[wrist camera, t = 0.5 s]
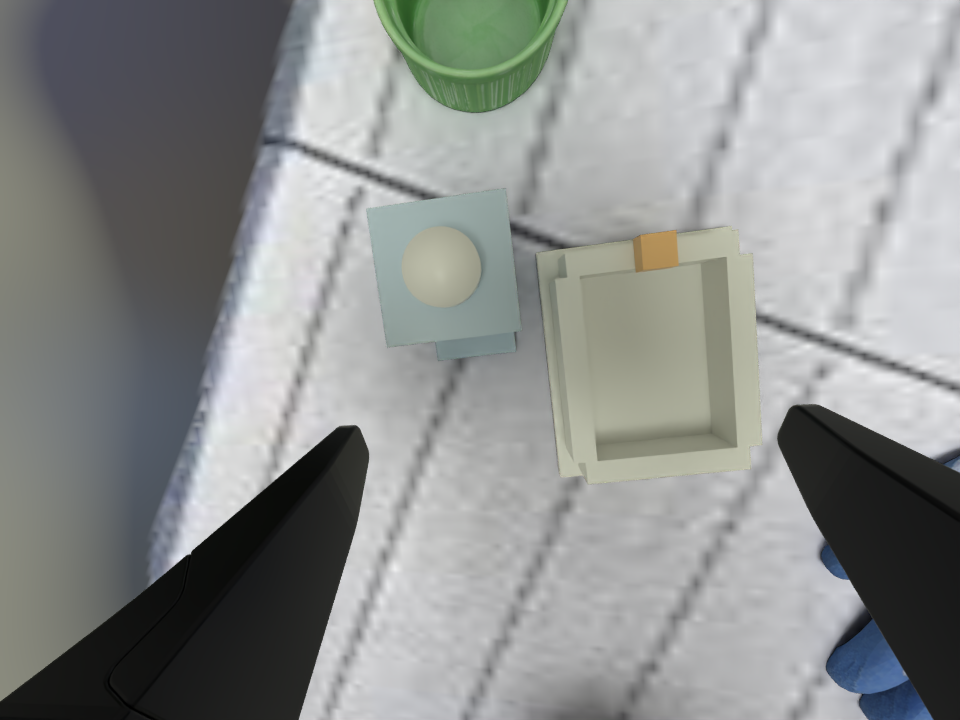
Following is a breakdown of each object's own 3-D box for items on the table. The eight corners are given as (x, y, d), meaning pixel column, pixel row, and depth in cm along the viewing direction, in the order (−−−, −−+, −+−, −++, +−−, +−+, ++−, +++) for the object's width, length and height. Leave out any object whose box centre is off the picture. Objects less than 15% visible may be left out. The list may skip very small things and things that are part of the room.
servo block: (515, 350, 23) (528, 380, 12) (440, 359, 23) (386, 396, 12) (500, 219, 22) (500, 125, 11) (422, 230, 22) (348, 149, 11)
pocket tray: (738, 456, 23) (788, 485, 19) (559, 473, 23) (571, 505, 19) (725, 228, 21) (776, 208, 17) (535, 254, 22) (543, 240, 18)
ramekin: (516, -90, 20) (520, -202, 16) (587, 74, 21) (610, 10, 16) (367, 0, 21) (332, -83, 17) (440, 154, 22) (425, 113, 17)
